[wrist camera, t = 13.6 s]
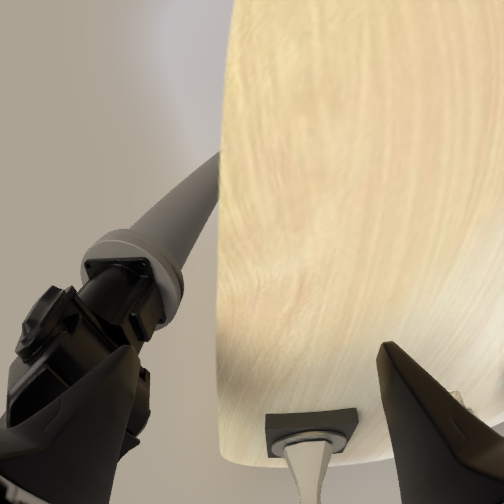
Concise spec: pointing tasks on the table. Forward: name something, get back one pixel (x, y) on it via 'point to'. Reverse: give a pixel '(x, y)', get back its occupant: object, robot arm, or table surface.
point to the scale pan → (309, 440)
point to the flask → (309, 468)
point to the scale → (309, 425)
